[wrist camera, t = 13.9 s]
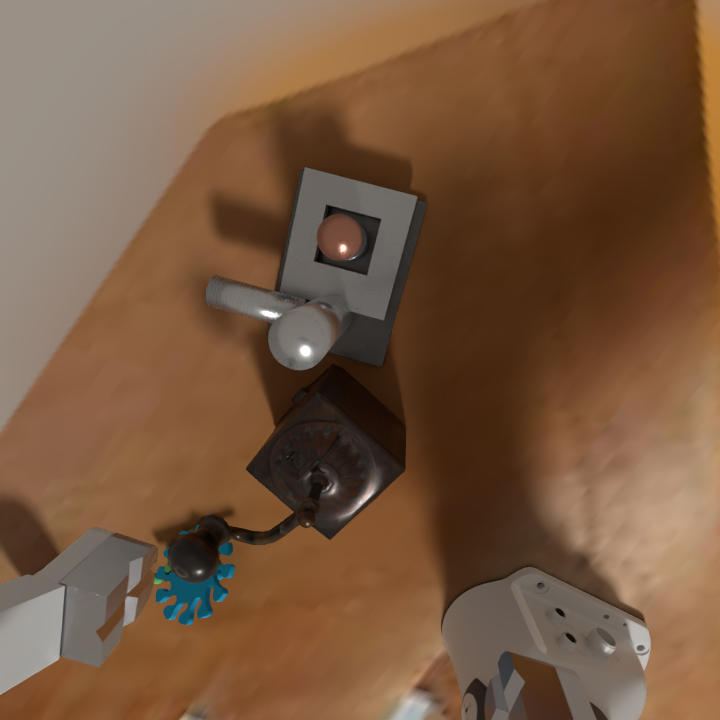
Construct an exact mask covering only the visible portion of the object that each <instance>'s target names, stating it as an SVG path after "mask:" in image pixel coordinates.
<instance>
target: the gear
mask: <svg viewBox="0 0 720 720" xmlns="http://www.w3.org/2000/svg"><path fill="white" fill-rule="evenodd" d="M198 527H199V524H198V525H197V526H196V528H195V531H196V530H197V529H198ZM188 533H191V532H190V531H183V532H181V533H179V535H181V534H188ZM179 535H178V536H179ZM169 547H170V546H169ZM169 547H168V548H167V549H166V550H165V551H164V556H165V557H167V558H168V549H169ZM232 552H233V546H232V543H229V542H227V543H224V544H222V545H221V546H220V547H219V554H220V553H221V554H223V555H231V554H232ZM234 571H235V566H234V565H231V564H225V565H222V564H221V563H219V567H218V568H217V570H216V571H215V573H214V574H213V576H212V577H210V578H209V579H207V580H205V581H203V582H201V583H190V582H186V581H185V580H183V579H181V578H179V577H178V576H176V575H175V574H174V572H173V571H172V570H171V569H170V567H169V566H168V563H167V564H166V565H165V567H159V569H158V570H157V573H154V575H155V579H154V584H160V583H161V582H162V580H165V581H166V582H170V583H171V589H170V590H167V589H158V590H157V592H156V602H165V601H166V600H167V599H168V598H170V597H171V596H174V595H176V597H177V601H176V603H175V604H174V605H172V606H167V607H165V609H164V610H163V612H164V615H165V617H166V619H167V620H170V619H174V618H175V617H176V616H177V614H178V612H179V610H180V608H181V607H182V606H183V605H184V604H185V603H186V602H188V607H187V609H186V611H184V612H183V613H182V614H181V615H180V616H179V620H178V621H179V622H180V623H181V624H184V625H191V624H192V623H193V620H194V611H195V608H196V605H197V603H198V602H199V600H200V599H201V600H202V603H201V605H200V607H199V609H198V611H197V617H198V618H206V617H209V616H211V615H212V612H213V611H212V607H211V605H210V599H209V598H210V590H211V588H212V587H213V588H214V592H213V599H214V600H215V601H222V600H223V599H224V598H225V597H226V596H227V594H228V590H227V589H226V588H224V587H222V586H221V585H220V583H219V580H221V579H223V578H224V577H226V578H231V577H232V576H233V574H234Z"/></svg>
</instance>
